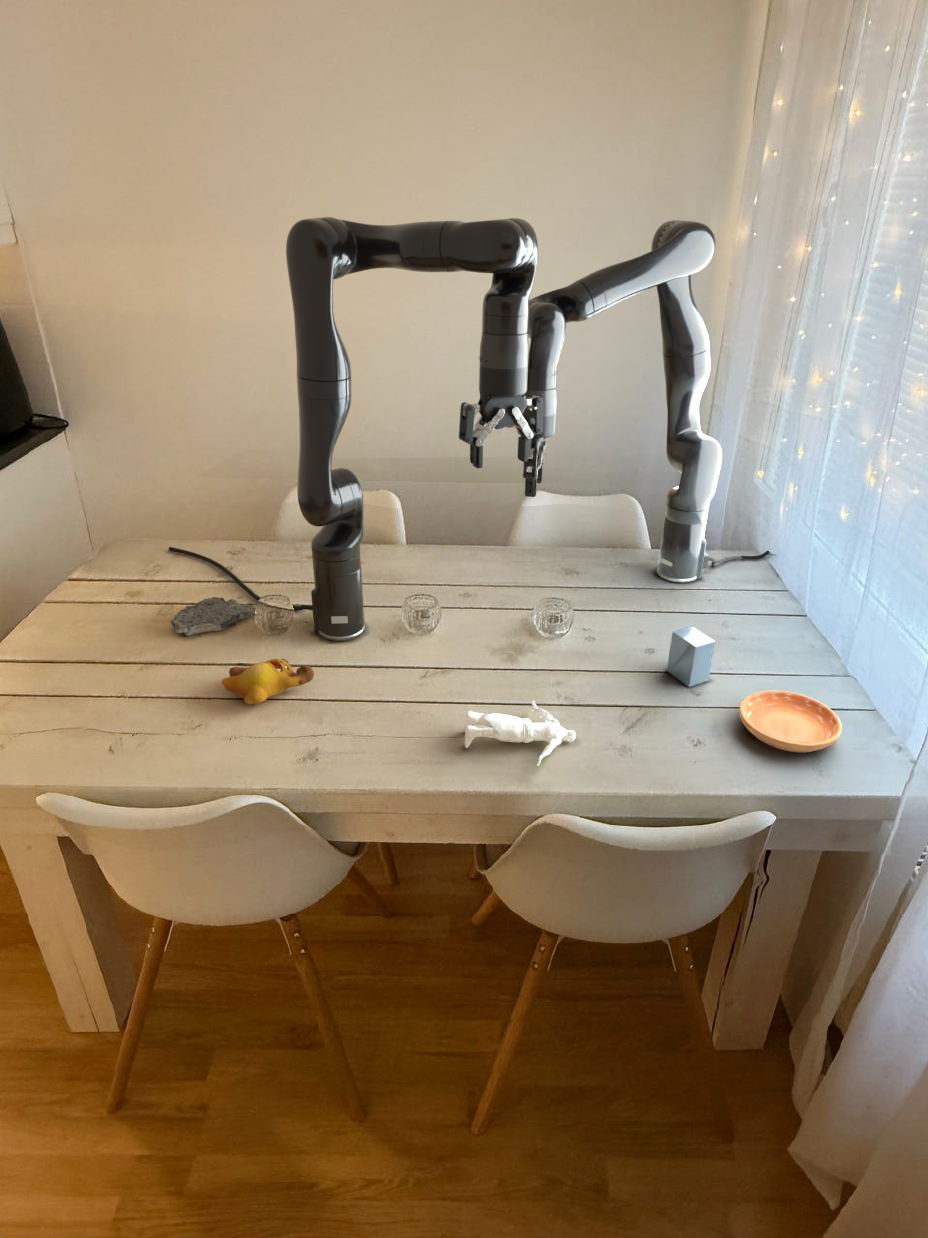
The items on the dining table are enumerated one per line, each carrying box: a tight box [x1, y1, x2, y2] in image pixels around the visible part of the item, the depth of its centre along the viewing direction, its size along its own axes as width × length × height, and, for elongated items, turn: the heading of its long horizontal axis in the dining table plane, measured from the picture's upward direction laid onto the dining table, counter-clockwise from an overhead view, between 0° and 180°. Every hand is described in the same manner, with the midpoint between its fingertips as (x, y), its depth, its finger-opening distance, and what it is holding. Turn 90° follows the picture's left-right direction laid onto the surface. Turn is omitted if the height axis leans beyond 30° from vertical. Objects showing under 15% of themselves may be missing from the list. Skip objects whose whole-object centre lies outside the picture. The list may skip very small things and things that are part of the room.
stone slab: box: [170, 596, 256, 637], centre depth 168 cm, size 12×17×3 cm
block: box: [666, 625, 717, 688], centre depth 149 cm, size 5×6×8 cm
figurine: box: [464, 699, 577, 767], centre depth 133 cm, size 17×5×18 cm
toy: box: [221, 658, 315, 705], centre depth 144 cm, size 11×6×15 cm
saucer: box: [739, 689, 843, 753], centre depth 136 cm, size 16×16×3 cm
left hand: (500, 463), depth 134 cm, fingers open, 8 cm apart
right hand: (533, 489), depth 167 cm, fingers open, 8 cm apart
